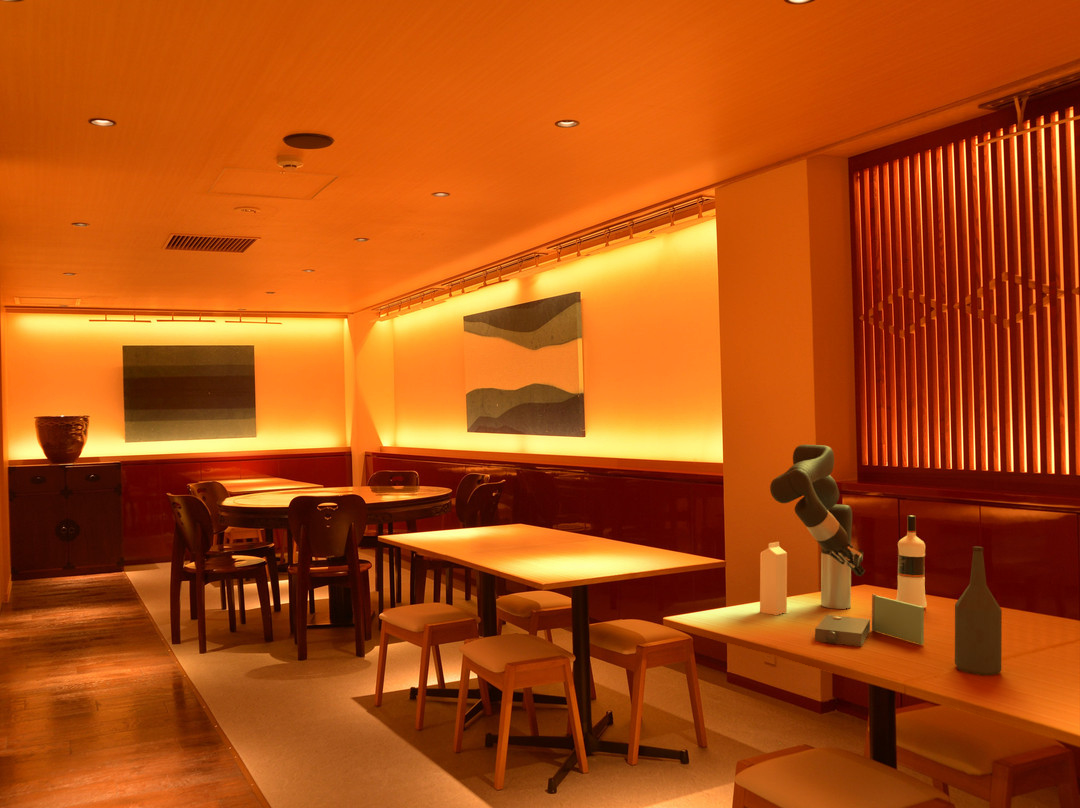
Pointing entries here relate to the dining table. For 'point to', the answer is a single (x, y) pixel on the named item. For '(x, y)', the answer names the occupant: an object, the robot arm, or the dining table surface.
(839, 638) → the box with round knob
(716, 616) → the dining table surface
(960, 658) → the bottle
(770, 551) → the milk
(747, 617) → the dining table surface
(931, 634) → the dining table surface
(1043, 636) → the dining table surface
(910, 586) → the vodka
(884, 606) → the door
